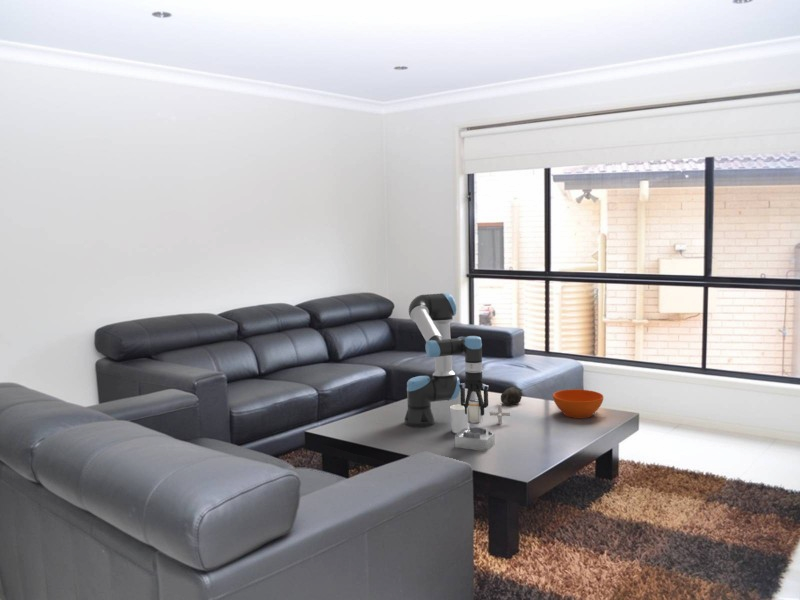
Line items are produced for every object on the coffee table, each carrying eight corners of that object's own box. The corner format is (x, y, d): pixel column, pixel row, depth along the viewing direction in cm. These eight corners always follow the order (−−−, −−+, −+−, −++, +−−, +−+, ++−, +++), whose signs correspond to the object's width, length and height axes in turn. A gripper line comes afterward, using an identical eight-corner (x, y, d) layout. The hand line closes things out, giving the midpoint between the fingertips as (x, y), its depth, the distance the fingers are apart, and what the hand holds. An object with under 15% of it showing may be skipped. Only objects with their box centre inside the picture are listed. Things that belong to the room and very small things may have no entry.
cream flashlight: (467, 423, 325) (466, 401, 323) (471, 420, 329) (470, 398, 328) (478, 424, 322) (477, 402, 321) (482, 421, 327) (481, 399, 326)
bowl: (585, 405, 388) (585, 387, 387) (613, 417, 364) (613, 398, 363) (544, 411, 380) (543, 392, 379) (569, 423, 356) (569, 403, 355)
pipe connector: (509, 427, 353) (509, 407, 352) (489, 426, 355) (488, 406, 354) (510, 421, 363) (510, 401, 362) (490, 420, 365) (490, 401, 364)
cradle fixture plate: (455, 447, 326) (454, 432, 325) (463, 440, 335) (463, 425, 335) (486, 451, 319) (486, 435, 318) (494, 443, 329) (494, 428, 328)
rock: (497, 403, 394) (499, 385, 393) (506, 401, 403) (509, 384, 402) (513, 407, 388) (516, 389, 387) (522, 405, 397) (525, 388, 397)
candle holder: (457, 435, 343) (456, 410, 341) (446, 430, 351) (446, 406, 350) (474, 432, 347) (474, 407, 346) (463, 426, 356) (463, 403, 355)
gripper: (451, 371, 324) (453, 422, 326) (490, 374, 316) (491, 425, 318) (457, 368, 330) (459, 417, 333) (495, 370, 323) (496, 421, 325)
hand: (474, 421), depth 326 cm, fingers closed on cream flashlight, 5 cm apart
